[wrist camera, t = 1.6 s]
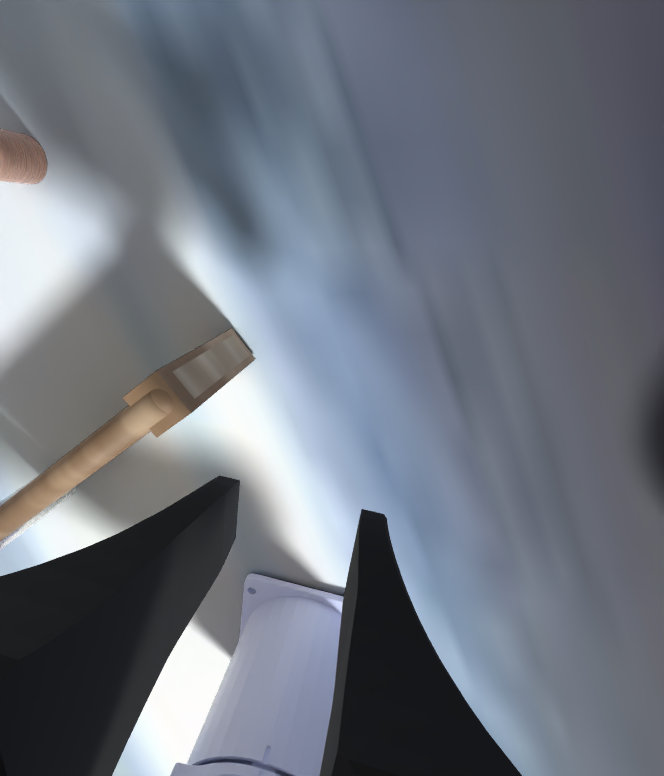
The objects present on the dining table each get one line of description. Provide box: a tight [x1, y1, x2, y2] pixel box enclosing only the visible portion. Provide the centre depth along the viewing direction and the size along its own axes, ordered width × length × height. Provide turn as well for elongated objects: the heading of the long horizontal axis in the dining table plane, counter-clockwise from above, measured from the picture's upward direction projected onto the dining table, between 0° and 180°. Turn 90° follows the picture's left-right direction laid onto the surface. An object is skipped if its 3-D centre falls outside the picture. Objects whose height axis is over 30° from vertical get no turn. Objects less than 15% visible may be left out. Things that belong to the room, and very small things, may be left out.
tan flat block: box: [0, 328, 255, 541], centre depth 20 cm, size 14×2×7 cm, turn 127°
